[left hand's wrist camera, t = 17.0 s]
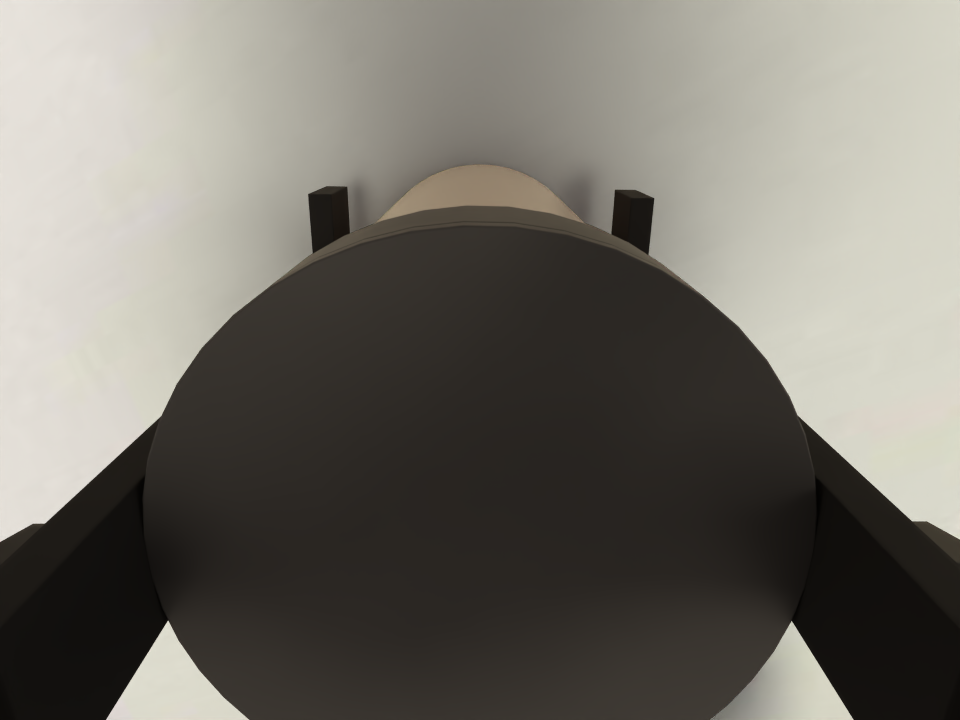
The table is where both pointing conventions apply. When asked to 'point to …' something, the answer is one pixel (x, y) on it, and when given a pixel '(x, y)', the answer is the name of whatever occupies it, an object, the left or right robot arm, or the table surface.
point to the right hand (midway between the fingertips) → (481, 191)
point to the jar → (480, 192)
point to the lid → (479, 484)
